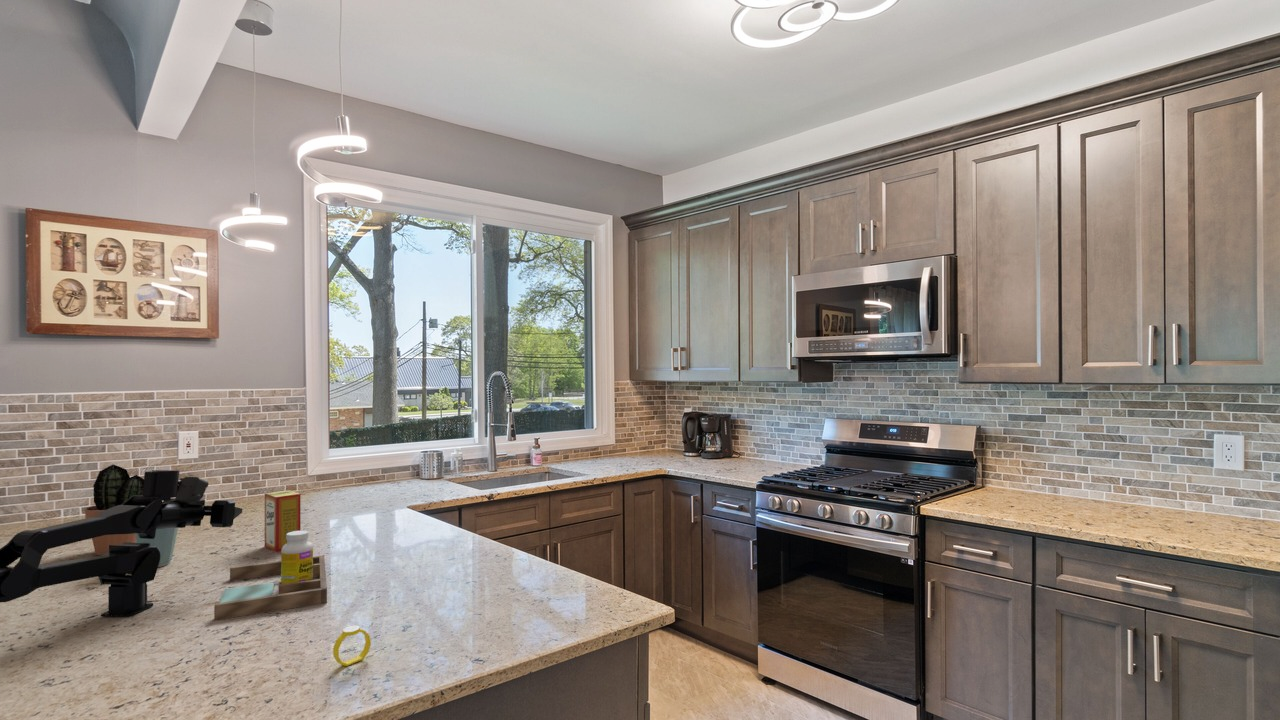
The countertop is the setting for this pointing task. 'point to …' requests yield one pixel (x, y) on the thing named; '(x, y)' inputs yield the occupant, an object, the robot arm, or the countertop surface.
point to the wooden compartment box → (270, 591)
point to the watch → (348, 632)
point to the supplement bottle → (297, 558)
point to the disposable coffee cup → (162, 543)
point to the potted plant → (113, 501)
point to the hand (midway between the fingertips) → (226, 510)
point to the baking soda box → (281, 517)
